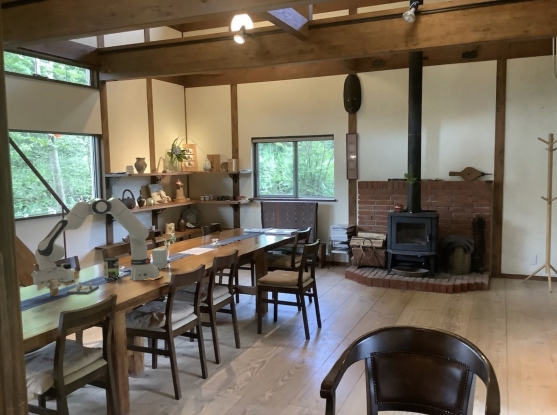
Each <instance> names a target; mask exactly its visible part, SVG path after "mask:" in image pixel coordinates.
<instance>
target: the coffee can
mask: <svg viewBox="0 0 557 415" xmlns="http://www.w3.org/2000/svg"><path fill="white" fill-rule="evenodd" d="M119 261H120V260H119V257H106V258H103V272H104V279H105V278H106V279H105V280H107V279H112V278H116V277H118V275H119V276H120V267H119V266H120V264H119ZM112 280H113V279H112Z"/></svg>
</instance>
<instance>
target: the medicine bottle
mask: <svg viewBox="0 0 557 415" xmlns="http://www.w3.org/2000/svg"><path fill="white" fill-rule="evenodd" d="M61 264H62V265H63V268H65V269H66V271H67V273H68V278H67V280H62V281H63V282H62V281H61V282H62V283H68V282H73V281H75V270H74V269H72V264H71V263H68V262H67V263H61ZM72 280H73V281H72Z"/></svg>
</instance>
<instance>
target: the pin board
mask: <svg viewBox="0 0 557 415" xmlns="http://www.w3.org/2000/svg"><path fill="white" fill-rule="evenodd" d="M82 284H83V283H82V281H78V284H76V286H75V287H73V288H71V289H69V290H67V291H66V293H67V294H68V295H72V294H74V295H75V294H76V295H88V293H89V294H91V293H92V292H94V291H97V290H98V289H99V285H93V284H92V281H91V282H88V285H82ZM97 288H98V289H97ZM90 292H91V293H90Z"/></svg>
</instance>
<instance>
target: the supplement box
mask: <svg viewBox="0 0 557 415" xmlns="http://www.w3.org/2000/svg"><path fill="white" fill-rule="evenodd" d="M167 250H168V249H167V248H154V249H152V250H151V255H152V256H151V258H152V259H151V261H152V264H153V265H154V266H155V267H157V268H165V267H166V266H167V267H168V252H167ZM167 267H166V268H167ZM166 268H165V269H166Z"/></svg>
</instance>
